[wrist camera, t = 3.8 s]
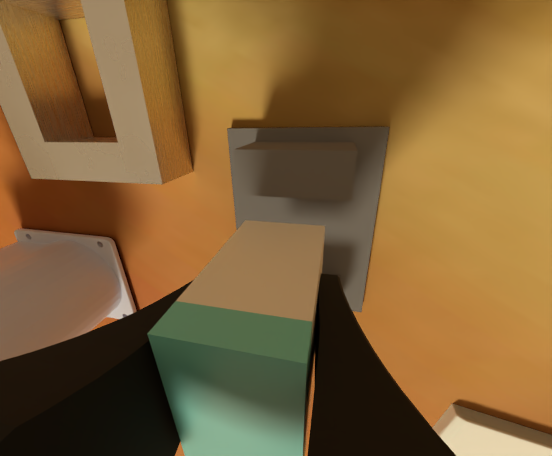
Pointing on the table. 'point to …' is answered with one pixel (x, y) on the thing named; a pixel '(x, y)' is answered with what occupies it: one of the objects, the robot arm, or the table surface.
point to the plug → (245, 344)
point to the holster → (314, 189)
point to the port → (117, 85)
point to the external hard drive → (489, 435)
